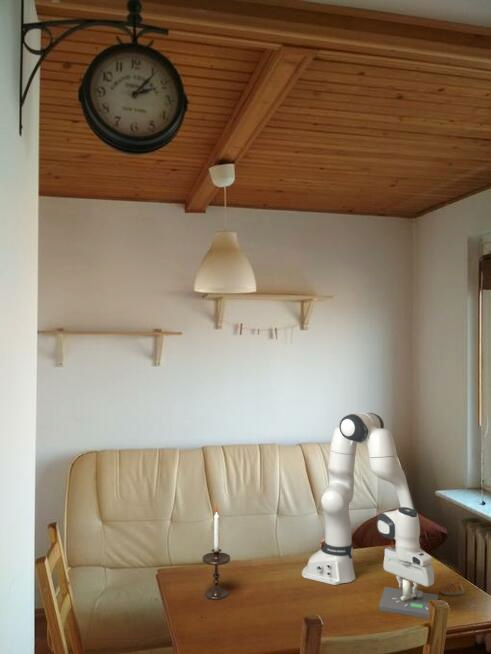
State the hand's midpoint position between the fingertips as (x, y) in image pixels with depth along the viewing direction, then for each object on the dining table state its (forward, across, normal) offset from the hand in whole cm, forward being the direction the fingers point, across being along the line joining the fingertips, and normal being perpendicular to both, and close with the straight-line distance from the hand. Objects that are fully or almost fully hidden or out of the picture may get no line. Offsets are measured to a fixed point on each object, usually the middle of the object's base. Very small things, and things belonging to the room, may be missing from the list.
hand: (407, 590), depth 205 cm
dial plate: (+6, 0, +1) cm, 6 cm away
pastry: (+6, +4, +23) cm, 25 cm away
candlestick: (+6, -52, -51) cm, 73 cm away
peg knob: (+4, 0, +2) cm, 4 cm away
